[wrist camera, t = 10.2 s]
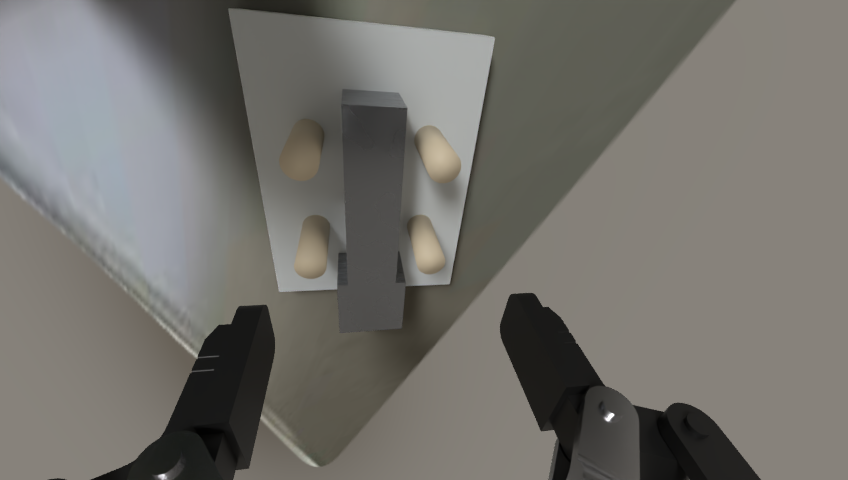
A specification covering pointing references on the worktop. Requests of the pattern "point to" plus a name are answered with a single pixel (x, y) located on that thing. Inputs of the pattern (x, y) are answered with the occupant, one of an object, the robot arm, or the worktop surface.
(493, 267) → the worktop surface
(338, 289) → the grey long block
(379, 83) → the rack
